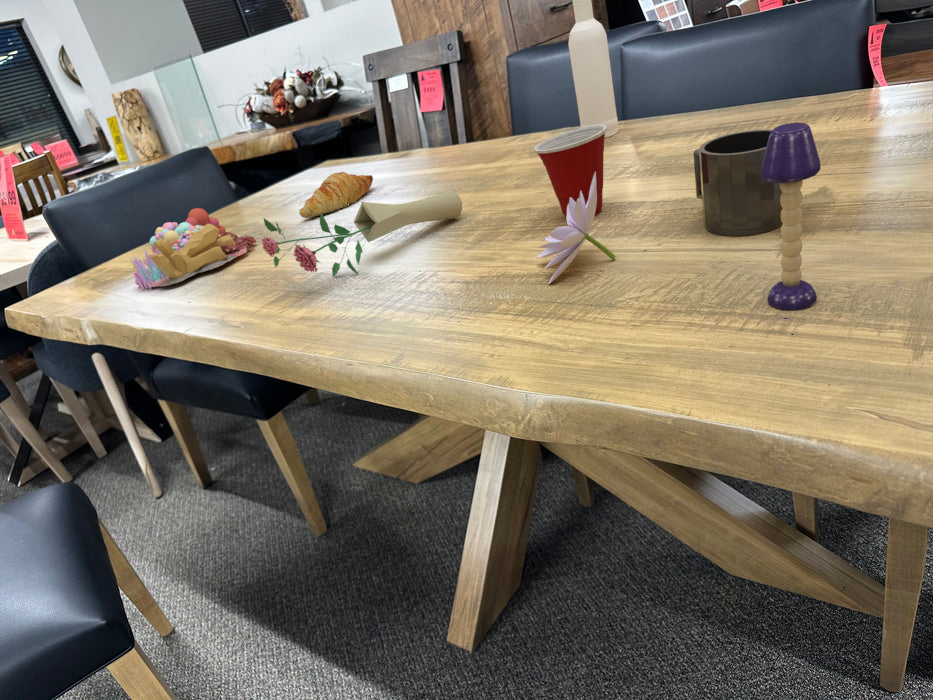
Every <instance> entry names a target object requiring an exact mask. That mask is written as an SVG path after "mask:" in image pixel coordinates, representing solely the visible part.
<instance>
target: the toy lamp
mask: <svg viewBox="0 0 933 700" xmlns="http://www.w3.org/2000/svg"><path fill="white" fill-rule="evenodd" d="M810 126H811V125H809V124H808V123H805V122H789V123H784V124H780V125H777V126H776V127H774V128H773V129H771V130H772V131H771V133H770V136H769V139H768V143H767V147H766V151H765V155H764V159H763V164H762V168H761V177H762V178H763V179H764V180H766V181H769V182H774V183H780V188H781V190H782V194H781V198H780V202H781V206H782V208H783V209H782V211H781V221H782V223H783V225H782V226H780V236H781V243H780V252H781V254H782V255H781V258H780V266H781V269H782V270H781V272H780V280H781V281H778V282H777V283H775V284H774V285H773V286H772V287H771V289H770V290H769V292H768V295H767V298H766V299H767V303H768V305H770V306H771V307H773V308H775V309H778V310H784V311H799V310H804V309H807V308H809V307H811V306H813V305H814V304H815V303H816V302H817V300H818V299H817V298H818V297H817V293H816V290H815V289H814V287H813V286H812V284H811V283H809V282H807V281H806V280H803V279H802V276H803V275H802V270H801V266H802V263H803V258H802V254H801V252H802V249H803V241H802V239H801V237H802V235H803V232H804V231H803V229H804V228H803V225H802V222H801V221H802V219H803V208H802V207H801V205H802V203H803V198H804V197H803V193H802V191H801V190H802V187H803V183H804V180H808V179H810V178H813V177H815V176H816V175H817V174H819V172H820V171H821V167H822V165H821V160H820V155H819V152H818V149H817V145H816V142H815V139H814V135H813V132H812V128H811V127H810Z"/></svg>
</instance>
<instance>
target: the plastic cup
mask: <svg viewBox="0 0 933 700" xmlns="http://www.w3.org/2000/svg"><path fill="white" fill-rule="evenodd" d="M606 127H607V126H604V125H592V126H587V127H582V128H581V127H578V128H574V129H571V130H568V131H565V132H561V133H558V134H556V135H554V136H551V137H549V138H547V139H544V140H542V141H541V142H539V143H538V144H536V145H535V146H534V148H533V151H534V153H536V154H537V155H538V156H539V158H540V160H541V161H542V163H543V166H544V167H545V170H546V172H547V176H548V178H549V181H550V183H551V186H552V188H553V191H554V194H555V197H556V198H557V201H558V203H559V206H560V209H561V212H562V214H563V215H564V218H566V216H567V206H568V204H569V200H570V197H571V198H572V199H573V200H574V201H575V202H577V199H578V198H580V191H581V192H582V194H583V197H584V200H585V205H586V204H587V201H588V198H589V192H590V187H591V183H592V180H593V176H594V174H595V172H596V190H597V204H596V211H595V215H594V216H596V215H598V214H600V213H601V212H602V209H603V208H602V207H603V194H604V193H603V189H604V157H605V156H604V151H605V138H604V136H605V132H606Z"/></svg>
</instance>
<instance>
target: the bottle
mask: <svg viewBox="0 0 933 700" xmlns="http://www.w3.org/2000/svg"><path fill="white" fill-rule="evenodd" d="M572 7H573V13H574V20H575V23H574V24H573V27H572V28H571V30H570V32H569V36H568V51H569V57H570V63H571V71H572V77H573V84H574V89H575V90H574V91H575V97H576V103H577V104H576V105H577V110H578V117H579V123H580V125H579V126H580V127H579V128H582V127H587V126H592V125H604V126H607V127H606V132H605V136H604V139H607V138H610V137H613V136H615V135H617V134H618V132H619V130H620V129H619V120H618V115H617V114H618V113H617V107H616V98H615V92H614V84H613V77H612V76H613V75H612V68H611V67H612V66H611V59H610V52H609V51H610V50H609V44H608V43H609V42H608V36H607V32H606V30H605V28H604V25H603V24H602V23H601V22H599V20H597V19H595V18H594V11H593V3H592V0H572Z"/></svg>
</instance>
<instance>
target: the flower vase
mask: <svg viewBox="0 0 933 700" xmlns="http://www.w3.org/2000/svg"><path fill="white" fill-rule="evenodd" d="M462 211H463V201H462V199H461V196H460V195H459V194H458V193H457V192H456V191H455V190H447V191H444V192H441V193H438V194H435V195H431V196H428V197H425V198H421V199H417V200H414V201H410V202H404V203H396V204H395V203H394V204H393V203H392V204H391V203H379V202H367V201H362V202H361V204H360V206H359V208H358V211H357V213H356V215H355V218H354V221H353V223H354V225H355V226H356V228H357V230H356V231H354V232H351V231H350V230H349V229H347V228H346V227H343V226H341V225H338V224H334V226H333V228H334V232H335V234H332V233H331V230H330V227H329V224H328V222H327V220H326V218H325V216H324V214H322V213H321V215H319V226H320V229H321V231H322V232H325V233H328V234H330V235H324V236H315V237H305V238H296V239H289V240H287V239H286V237H285V235H284V231H283V229H281V228H280V226H279V223H278V222H275V225H276V226H275V225H274V224H273V223H272V222H271V221H269V220H268V219H266V218H264V217H263V223H264V226H265V227H266V229H267V230H269V232H278V234H279V235H281V236H282V237H283V238H284V240H285V241H280V242H278V241H276V239H273V238H271V237H270V236H263V238H261V241H262V242H261V243H262V248H263V249H264V252H265V253H266V254H268V255H269V257H271V258H273V265H274V267H275V268H276V267H278V266H279V263H280V260H281V259H282V258H283V257H285V254H283V255H282V256H281V257H280V258H279V257H278V256H277V255H276V254H280V251H281V248H280V247H279V245H282V244H287V243H292V242H295V243H294V244H293V245H292V246H291V247H290V248H286V249H284V251H288V250H291V249H293V248H294V246H295V248H294V250H293V252H294V253H293V257H295V261H296V262H298V263H299V267H301V268H303V270H304V271H306V272H311V273H318V270H319V268H317V266H318V265H317V263H319V264H321V261H319V259H318V258H317V257H316V254H317V252H319V251H321V250H323V249H324V248H327V247H328V249H329V250H330V251H331V252H332V253H335V254H336V253H337V251H338V249H339V247H338V246H337V244H338V245H342V244H343V242H344V241H345V239H346V238H348V240H347V243H346V246H344V247H342V249H344V251H343V254H342V258H341V261H340V263H338V262H334V263H333V265H332V268H331V274H332V277H335V276H336V275H337V274H338V272H339V271H340V270H341V269H340V268H341V264H342V262H343V259H344V256H345V253H347V251H346V249H347V246H348V243H349V242H350V240H351V238H352V237H353V235H356V234H358V233H361V235H362V236H363V238H362V239H360V240H359V239H357V241H356V242H357V243H356V245H355V247H354V249H355V251H356V252H355V260H356V262H357V263H356V264H357V265H360V261H361V257H362V256H361V255H362V253H363V247H364V246H365V245H366V242H367V243H370V242H372V241H375V240H377V239H379V238H381V237H383V236H385V235H388V234H390V233H392V232H394V231H397V230H399V229H401V228H403V227H405V226H408V225H413V224H420V223H427V222H435V221H436V222H437V221H446V220H456V219H457V218H459V217H460V216H461V214H462ZM455 218H456V219H455ZM325 238H332V240H333V241H330V242H328V243H326V244H324V245H322V246H320V247H318V248H316V249H315V250H311V249H310V248H309V247H306V246H305V244H302V245H303V246H301V244H297V243H298V242H300V241H307V240H308V241H309V240H318V239H325ZM363 239H365V243H364V244H363V245H361V243H360V242H361V241H362V240H363ZM336 243H337V244H336ZM346 256H347V260H346V265H347V267H348V268H349V269H350V270H351V271H352V272H353V273H355V274H357V275H359V273H358V270H356V268H355V267H354V265H353V264H352V263H351V260H350V259H349V256H348V254H346Z"/></svg>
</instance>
